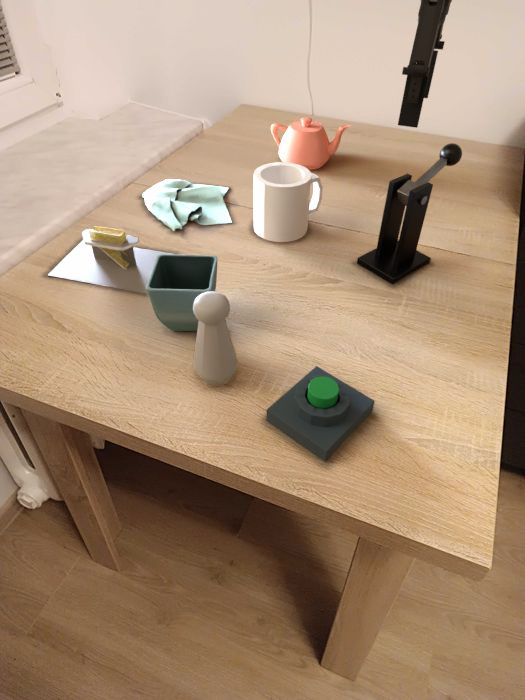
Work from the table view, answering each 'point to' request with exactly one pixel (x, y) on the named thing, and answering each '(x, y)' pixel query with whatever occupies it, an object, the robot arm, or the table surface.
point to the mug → (284, 200)
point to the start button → (323, 392)
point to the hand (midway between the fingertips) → (413, 110)
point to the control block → (319, 416)
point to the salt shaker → (213, 340)
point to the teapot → (306, 143)
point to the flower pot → (180, 288)
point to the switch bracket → (394, 255)
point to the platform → (108, 261)
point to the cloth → (187, 203)
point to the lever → (431, 170)
